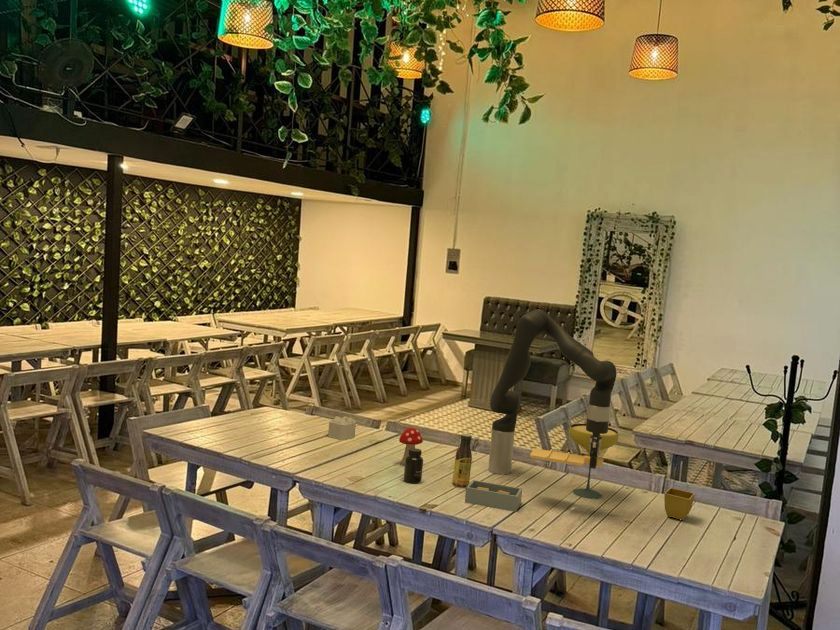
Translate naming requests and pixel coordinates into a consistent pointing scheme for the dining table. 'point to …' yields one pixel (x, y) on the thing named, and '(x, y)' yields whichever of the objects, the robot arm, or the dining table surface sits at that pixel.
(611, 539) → the dining table surface
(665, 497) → the flower pot
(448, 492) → the dining table surface
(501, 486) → the tub
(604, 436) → the cocktail glass
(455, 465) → the sauce bottle
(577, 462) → the lid
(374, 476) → the dining table surface
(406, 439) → the decorative mushroom
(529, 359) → the robot arm
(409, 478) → the supplement bottle
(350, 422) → the grey studded block
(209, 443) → the dining table surface
